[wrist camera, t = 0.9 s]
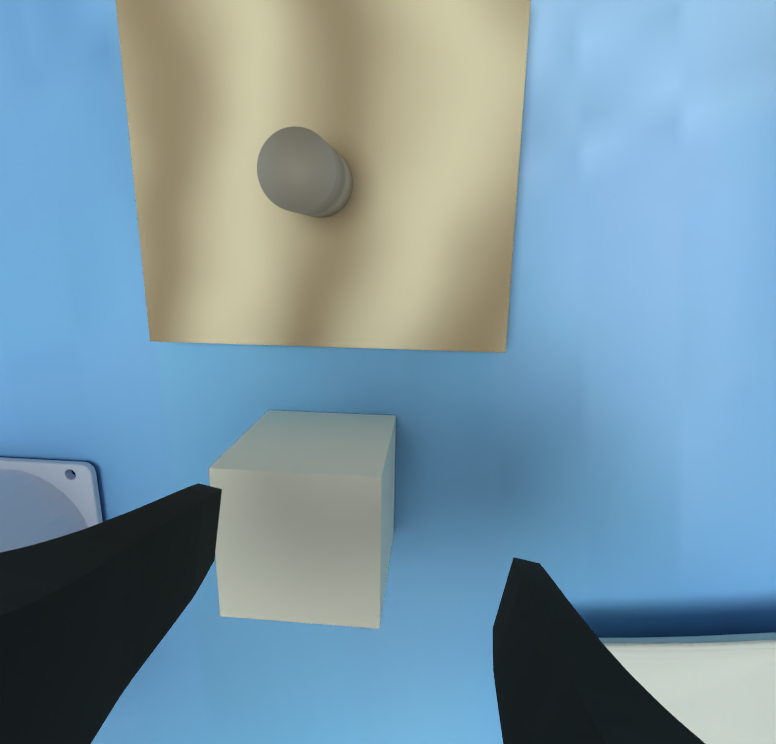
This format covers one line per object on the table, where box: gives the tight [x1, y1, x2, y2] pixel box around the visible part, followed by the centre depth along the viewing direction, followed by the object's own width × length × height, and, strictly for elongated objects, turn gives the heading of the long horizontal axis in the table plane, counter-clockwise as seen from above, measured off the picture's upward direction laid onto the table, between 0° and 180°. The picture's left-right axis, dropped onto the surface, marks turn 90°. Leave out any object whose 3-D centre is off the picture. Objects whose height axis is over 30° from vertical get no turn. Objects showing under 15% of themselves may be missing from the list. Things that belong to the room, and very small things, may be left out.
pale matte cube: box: [209, 410, 396, 629], centre depth 20 cm, size 6×6×6 cm
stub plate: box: [116, 0, 531, 352], centre depth 17 cm, size 14×12×5 cm
